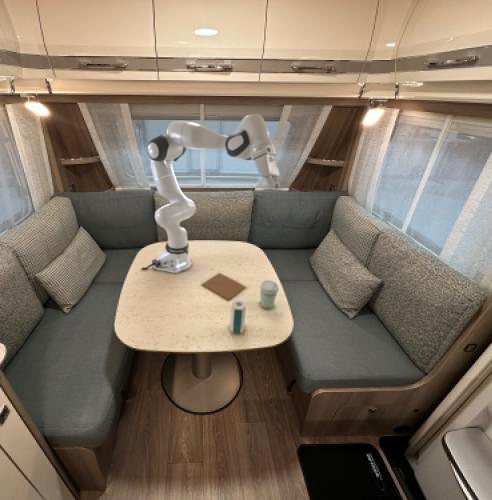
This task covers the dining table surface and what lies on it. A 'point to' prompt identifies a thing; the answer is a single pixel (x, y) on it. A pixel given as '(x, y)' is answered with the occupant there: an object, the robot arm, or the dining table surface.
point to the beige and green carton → (237, 316)
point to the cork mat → (223, 286)
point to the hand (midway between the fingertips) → (275, 187)
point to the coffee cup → (268, 293)
